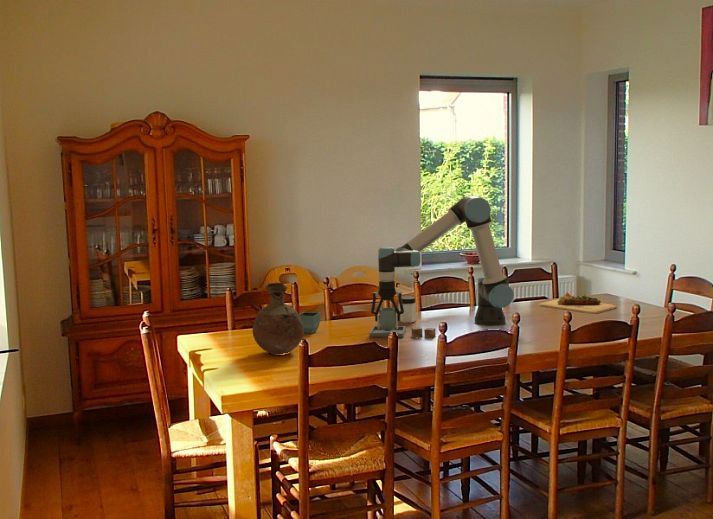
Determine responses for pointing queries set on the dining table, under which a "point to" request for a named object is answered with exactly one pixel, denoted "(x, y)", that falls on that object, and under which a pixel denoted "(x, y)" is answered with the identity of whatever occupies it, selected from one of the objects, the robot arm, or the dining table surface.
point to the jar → (408, 309)
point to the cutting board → (578, 304)
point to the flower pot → (310, 321)
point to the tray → (386, 332)
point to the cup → (387, 318)
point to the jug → (277, 323)
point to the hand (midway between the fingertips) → (387, 328)
